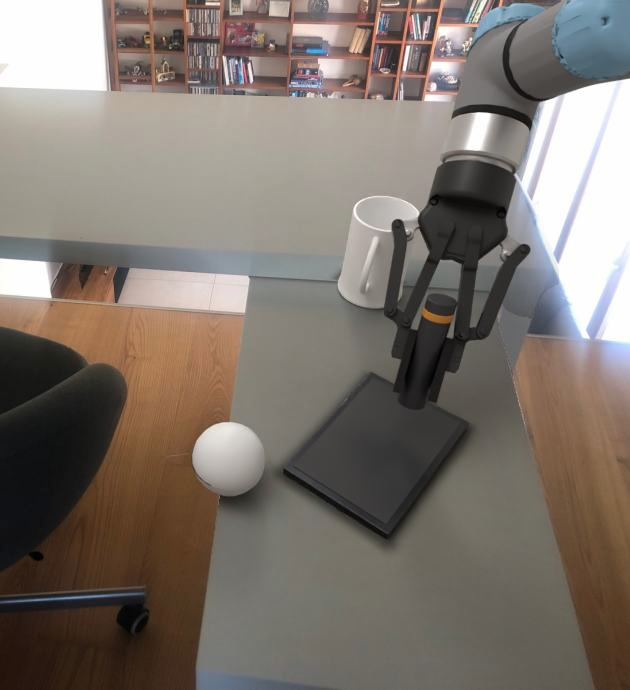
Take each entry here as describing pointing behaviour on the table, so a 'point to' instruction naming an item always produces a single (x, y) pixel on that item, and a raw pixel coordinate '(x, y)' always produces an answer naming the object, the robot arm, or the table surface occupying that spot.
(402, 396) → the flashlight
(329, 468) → the tablet
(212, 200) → the table surface
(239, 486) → the white sphere
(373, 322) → the table surface
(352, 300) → the mug
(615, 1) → the robot arm
